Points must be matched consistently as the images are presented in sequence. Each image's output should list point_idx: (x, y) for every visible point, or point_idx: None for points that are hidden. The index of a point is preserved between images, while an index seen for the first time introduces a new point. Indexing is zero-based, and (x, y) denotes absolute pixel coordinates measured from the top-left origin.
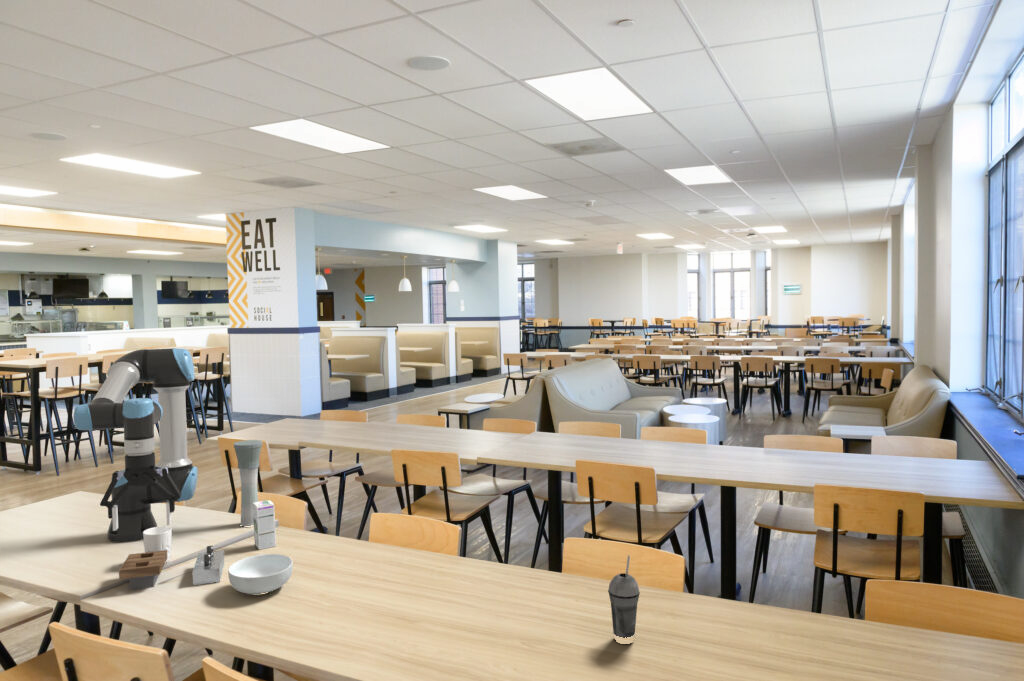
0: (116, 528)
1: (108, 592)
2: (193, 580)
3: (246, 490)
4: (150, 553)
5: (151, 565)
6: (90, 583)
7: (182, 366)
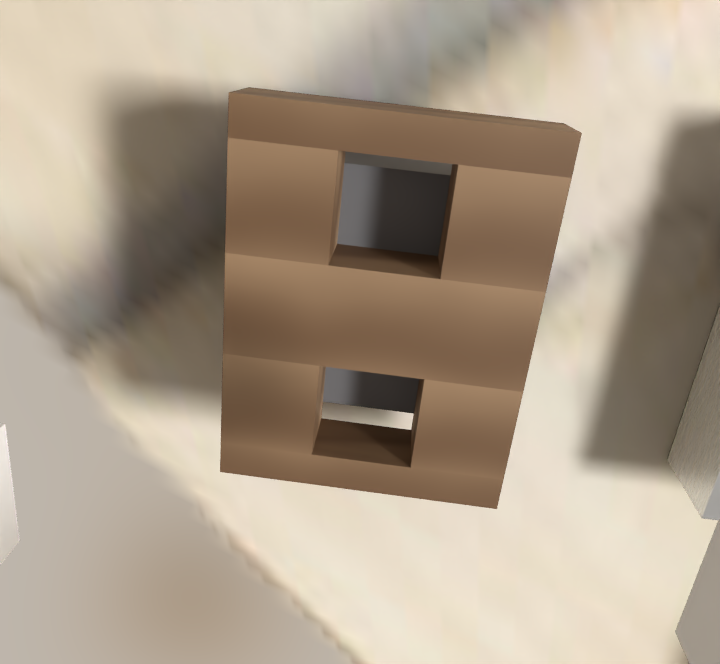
0: (6, 528)
1: (189, 332)
2: (681, 481)
3: None
4: (424, 159)
5: (441, 477)
6: (26, 105)
7: None
